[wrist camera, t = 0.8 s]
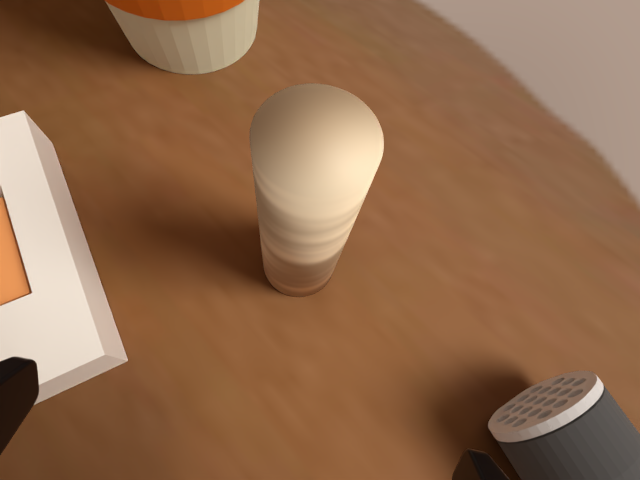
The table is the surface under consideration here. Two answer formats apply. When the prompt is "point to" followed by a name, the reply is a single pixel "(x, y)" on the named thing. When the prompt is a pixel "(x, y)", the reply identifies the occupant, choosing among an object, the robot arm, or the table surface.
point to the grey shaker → (567, 432)
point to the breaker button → (10, 261)
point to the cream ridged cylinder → (310, 180)
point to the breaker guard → (51, 269)
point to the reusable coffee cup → (188, 31)
